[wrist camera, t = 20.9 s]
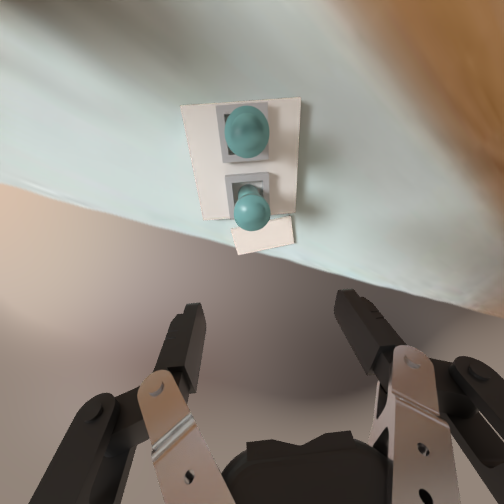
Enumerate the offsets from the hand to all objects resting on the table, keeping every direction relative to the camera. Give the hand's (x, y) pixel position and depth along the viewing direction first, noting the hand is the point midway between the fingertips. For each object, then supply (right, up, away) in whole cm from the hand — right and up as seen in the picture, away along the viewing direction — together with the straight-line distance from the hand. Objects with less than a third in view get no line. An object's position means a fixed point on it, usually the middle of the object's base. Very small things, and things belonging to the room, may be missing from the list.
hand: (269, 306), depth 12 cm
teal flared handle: (-2, +21, +18) cm, 28 cm away
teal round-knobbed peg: (-2, +13, +22) cm, 26 cm away
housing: (-2, +18, +22) cm, 28 cm away
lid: (+1, +7, +29) cm, 30 cm away
